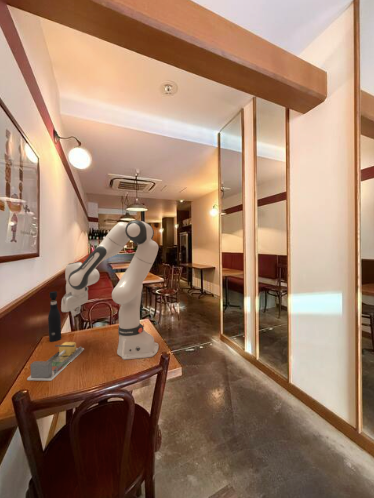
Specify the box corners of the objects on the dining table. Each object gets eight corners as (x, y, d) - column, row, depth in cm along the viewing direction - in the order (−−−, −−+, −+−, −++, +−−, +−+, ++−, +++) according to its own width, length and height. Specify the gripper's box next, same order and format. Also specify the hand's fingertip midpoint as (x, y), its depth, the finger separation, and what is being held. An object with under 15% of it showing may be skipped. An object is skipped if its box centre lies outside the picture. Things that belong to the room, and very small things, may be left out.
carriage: (80, 350, 113) (79, 341, 113) (69, 360, 104) (69, 349, 104) (61, 350, 114) (61, 341, 114) (49, 359, 105) (49, 349, 105)
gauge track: (84, 349, 117) (83, 337, 117) (51, 380, 91) (50, 365, 91) (65, 349, 118) (64, 337, 117) (27, 380, 92) (26, 364, 91)
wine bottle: (59, 336, 135) (57, 290, 134) (62, 338, 131) (60, 291, 130) (47, 339, 130) (45, 292, 129) (51, 342, 126) (49, 293, 125)
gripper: (68, 295, 108) (69, 321, 109) (89, 286, 128) (90, 308, 129) (57, 295, 108) (58, 321, 109) (79, 286, 129) (80, 308, 129)
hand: (75, 314), depth 119 cm, fingers closed
